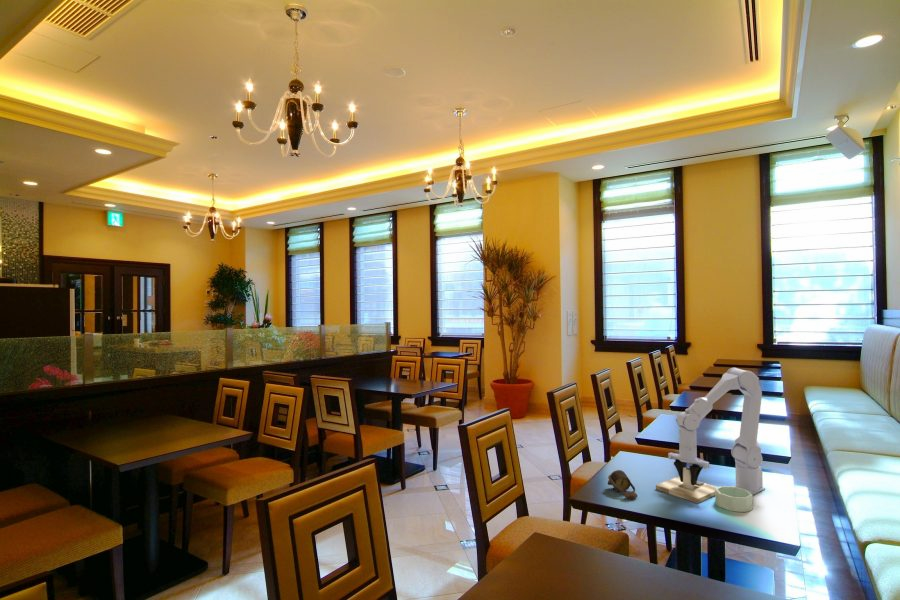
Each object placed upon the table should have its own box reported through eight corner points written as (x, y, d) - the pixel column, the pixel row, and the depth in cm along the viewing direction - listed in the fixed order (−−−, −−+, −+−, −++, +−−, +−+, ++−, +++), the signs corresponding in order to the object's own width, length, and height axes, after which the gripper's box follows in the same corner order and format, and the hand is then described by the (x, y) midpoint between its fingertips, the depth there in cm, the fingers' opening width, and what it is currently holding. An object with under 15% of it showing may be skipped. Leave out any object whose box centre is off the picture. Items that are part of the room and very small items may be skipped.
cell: (686, 488, 187) (686, 465, 187) (696, 491, 184) (695, 467, 184) (681, 490, 185) (680, 467, 185) (690, 493, 182) (690, 469, 182)
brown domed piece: (636, 473, 189) (609, 465, 192) (641, 482, 177) (612, 473, 179) (632, 492, 189) (605, 484, 191) (637, 502, 176) (607, 493, 179)
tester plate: (680, 479, 196) (680, 474, 196) (721, 492, 183) (721, 486, 183) (655, 489, 187) (655, 483, 187) (697, 503, 174) (697, 497, 174)
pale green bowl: (725, 496, 179) (725, 483, 179) (758, 506, 170) (758, 493, 170) (709, 503, 173) (708, 490, 173) (742, 514, 164) (742, 501, 164)
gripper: (663, 443, 188) (663, 479, 188) (701, 452, 176) (701, 491, 177) (674, 439, 192) (674, 475, 192) (712, 448, 180) (712, 486, 181)
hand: (688, 482), depth 185 cm, fingers closed on cell, 4 cm apart
